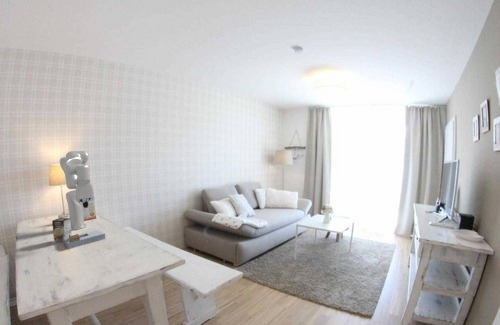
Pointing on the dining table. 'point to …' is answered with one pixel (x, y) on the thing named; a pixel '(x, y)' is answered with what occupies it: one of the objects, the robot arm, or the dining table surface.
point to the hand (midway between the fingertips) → (85, 207)
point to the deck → (84, 239)
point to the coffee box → (61, 229)
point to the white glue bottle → (89, 210)
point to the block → (74, 238)
